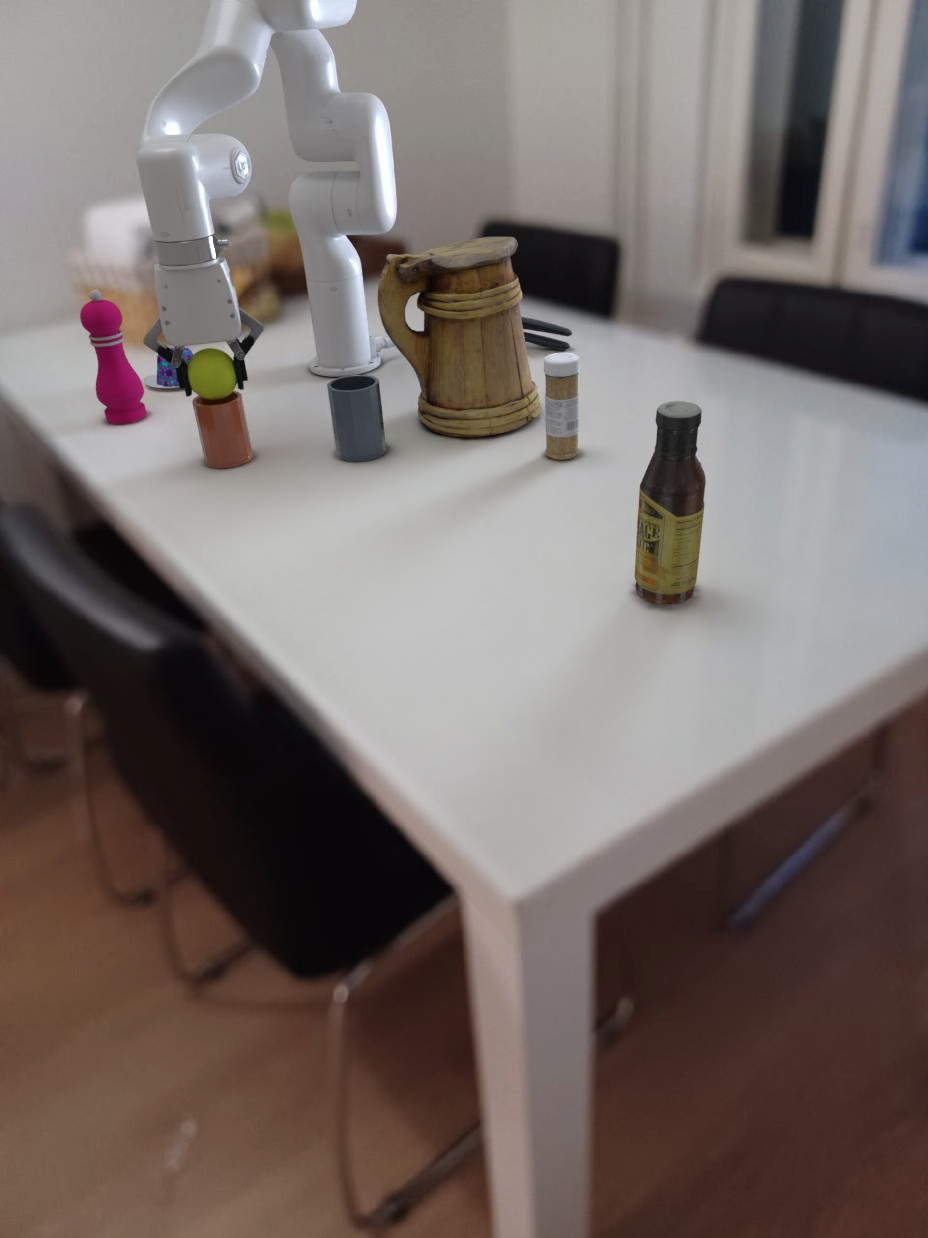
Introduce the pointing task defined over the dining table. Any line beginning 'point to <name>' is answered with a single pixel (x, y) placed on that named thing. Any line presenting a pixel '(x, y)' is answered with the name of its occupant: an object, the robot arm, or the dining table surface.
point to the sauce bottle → (671, 509)
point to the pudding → (166, 372)
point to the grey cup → (357, 417)
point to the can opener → (548, 328)
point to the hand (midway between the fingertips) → (215, 388)
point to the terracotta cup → (223, 431)
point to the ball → (211, 374)
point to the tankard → (463, 335)
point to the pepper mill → (112, 362)
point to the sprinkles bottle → (561, 405)
